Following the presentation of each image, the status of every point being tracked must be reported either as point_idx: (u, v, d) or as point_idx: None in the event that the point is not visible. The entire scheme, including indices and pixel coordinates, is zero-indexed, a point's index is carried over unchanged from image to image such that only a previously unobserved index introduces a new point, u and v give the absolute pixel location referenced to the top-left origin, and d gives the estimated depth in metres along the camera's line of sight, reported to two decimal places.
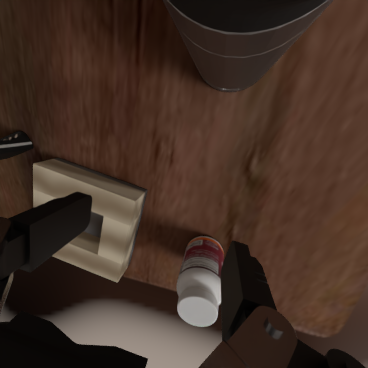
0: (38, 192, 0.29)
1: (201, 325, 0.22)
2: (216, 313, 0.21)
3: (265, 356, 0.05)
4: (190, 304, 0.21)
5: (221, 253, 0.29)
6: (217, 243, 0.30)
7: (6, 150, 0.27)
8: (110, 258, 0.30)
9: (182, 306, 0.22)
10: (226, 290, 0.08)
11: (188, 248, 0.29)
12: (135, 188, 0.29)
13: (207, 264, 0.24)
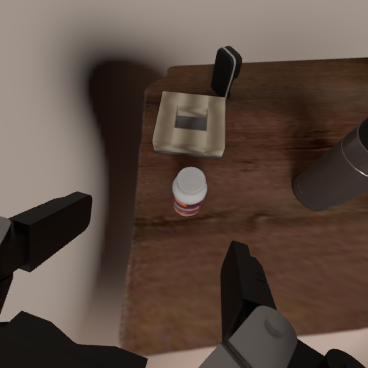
0: (207, 98, 0.48)
1: (179, 184, 0.30)
2: (196, 191, 0.29)
3: (265, 356, 0.05)
4: (196, 174, 0.31)
5: (197, 210, 0.37)
6: None
7: (227, 86, 0.50)
8: (173, 135, 0.42)
9: (191, 169, 0.31)
10: (226, 290, 0.08)
11: None
12: None
13: None
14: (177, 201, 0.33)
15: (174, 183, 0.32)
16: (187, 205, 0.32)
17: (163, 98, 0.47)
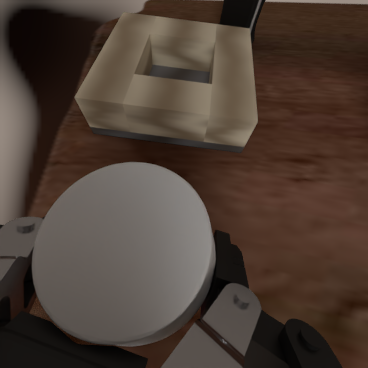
0: (214, 27, 0.23)
1: (40, 271, 0.04)
2: (146, 331, 0.04)
3: (234, 327, 0.05)
4: (161, 202, 0.05)
5: None
6: None
7: (252, 13, 0.26)
8: (131, 89, 0.17)
9: (140, 177, 0.06)
10: None
11: None
12: None
13: None
14: None
15: None
16: None
17: (122, 22, 0.23)
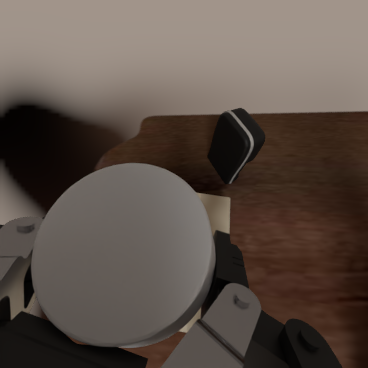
0: None
1: (40, 273, 0.04)
2: (145, 333, 0.04)
3: (234, 326, 0.05)
4: (161, 203, 0.05)
5: None
6: None
7: (234, 172, 0.29)
8: None
9: (140, 178, 0.06)
10: None
11: None
12: None
13: None
14: None
15: None
16: None
17: None
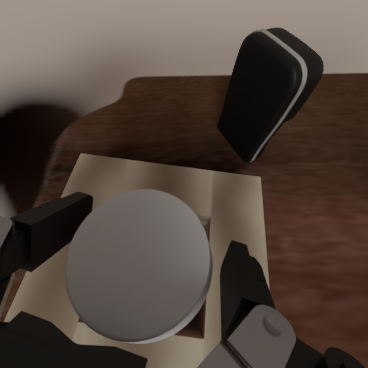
0: (210, 179, 0.16)
1: (73, 284, 0.06)
2: (158, 331, 0.05)
3: (263, 354, 0.05)
4: (168, 224, 0.07)
5: None
6: None
7: (263, 139, 0.19)
8: None
9: (150, 202, 0.07)
10: (225, 289, 0.08)
11: None
12: None
13: None
14: None
15: None
16: None
17: (76, 178, 0.16)
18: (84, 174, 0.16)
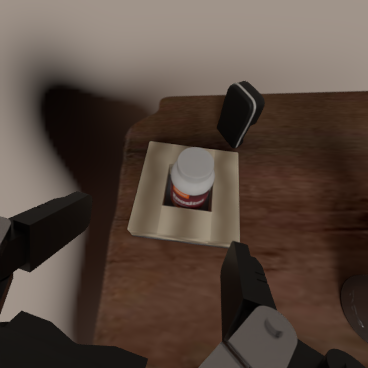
0: (213, 153, 0.34)
1: (180, 167, 0.23)
2: (202, 176, 0.23)
3: (264, 356, 0.05)
4: (202, 155, 0.24)
5: (201, 204, 0.30)
6: (203, 202, 0.32)
7: (240, 134, 0.36)
8: (161, 219, 0.28)
9: (196, 150, 0.24)
10: (226, 290, 0.08)
11: None
12: None
13: None
14: (177, 191, 0.26)
15: (173, 168, 0.26)
16: (190, 196, 0.25)
17: (150, 152, 0.33)
18: (153, 150, 0.33)
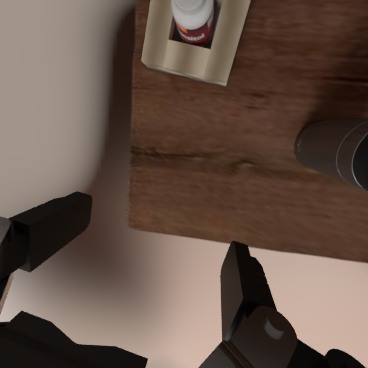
0: None
1: None
2: (192, 7, 0.25)
3: (265, 356, 0.05)
4: None
5: (204, 40, 0.33)
6: (209, 38, 0.34)
7: None
8: (167, 54, 0.33)
9: None
10: (226, 290, 0.08)
11: None
12: (228, 77, 0.36)
13: (213, 11, 0.28)
14: (177, 24, 0.29)
15: None
16: (187, 30, 0.29)
17: None
18: None
